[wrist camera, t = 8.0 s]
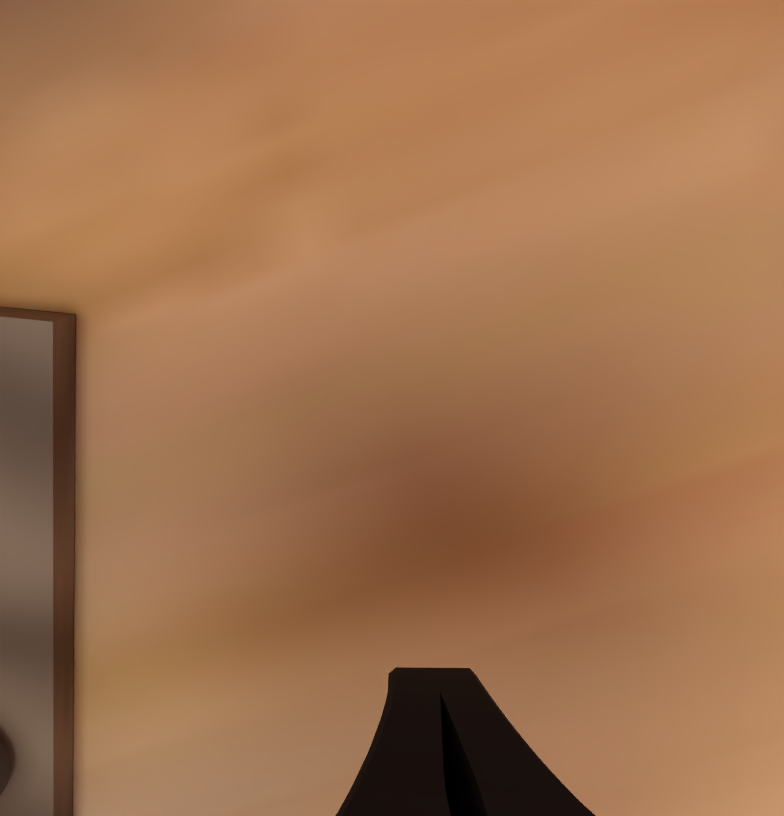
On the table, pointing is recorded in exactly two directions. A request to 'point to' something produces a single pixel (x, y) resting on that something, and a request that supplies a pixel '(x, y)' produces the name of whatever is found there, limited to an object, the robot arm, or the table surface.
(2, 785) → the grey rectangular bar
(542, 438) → the table surface
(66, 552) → the stool seat panel
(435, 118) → the table surface
